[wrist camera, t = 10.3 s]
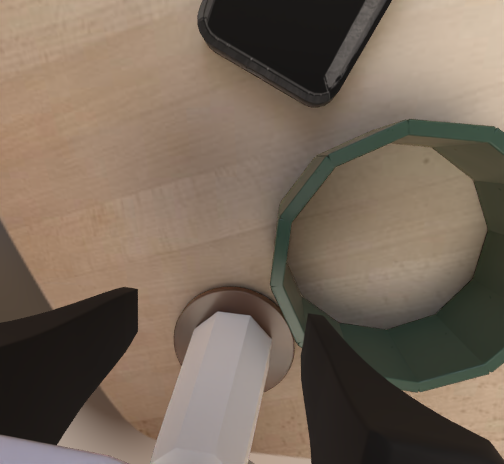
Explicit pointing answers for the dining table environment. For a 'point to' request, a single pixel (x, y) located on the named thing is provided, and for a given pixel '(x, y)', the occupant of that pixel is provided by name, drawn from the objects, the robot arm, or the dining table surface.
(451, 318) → the green polygonal ring
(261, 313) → the coaster
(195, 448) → the salt shaker
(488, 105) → the dining table surface
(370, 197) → the dining table surface
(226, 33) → the phone
